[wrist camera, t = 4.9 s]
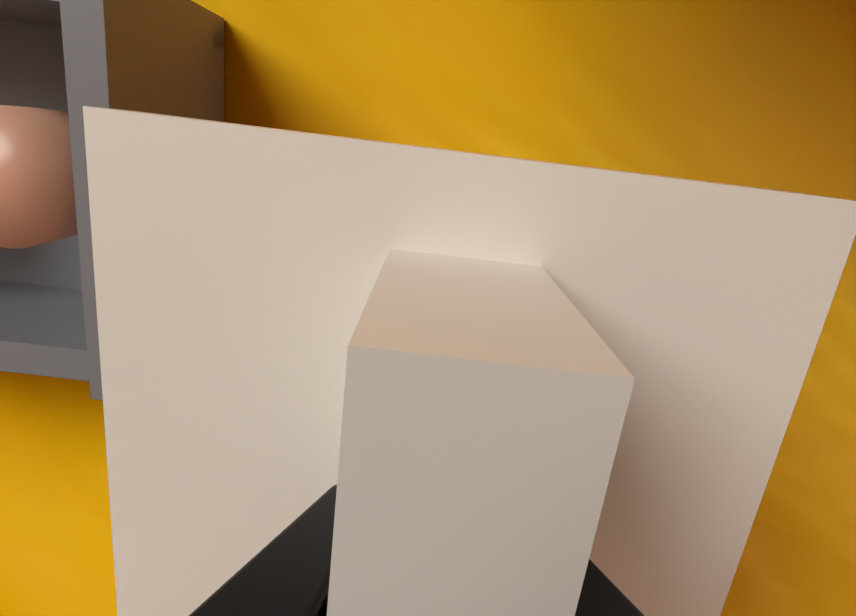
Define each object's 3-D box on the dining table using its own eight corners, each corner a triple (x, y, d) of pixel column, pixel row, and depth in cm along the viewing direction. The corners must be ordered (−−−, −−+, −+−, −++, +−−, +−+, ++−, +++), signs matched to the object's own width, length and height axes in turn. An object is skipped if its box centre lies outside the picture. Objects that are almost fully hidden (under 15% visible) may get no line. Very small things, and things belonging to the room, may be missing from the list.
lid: (649, 679, 11) (800, 1064, 6) (156, 628, 11) (-50, 987, 6) (804, 193, 8) (1284, 262, 3) (135, 110, 8) (-282, 70, 3)
